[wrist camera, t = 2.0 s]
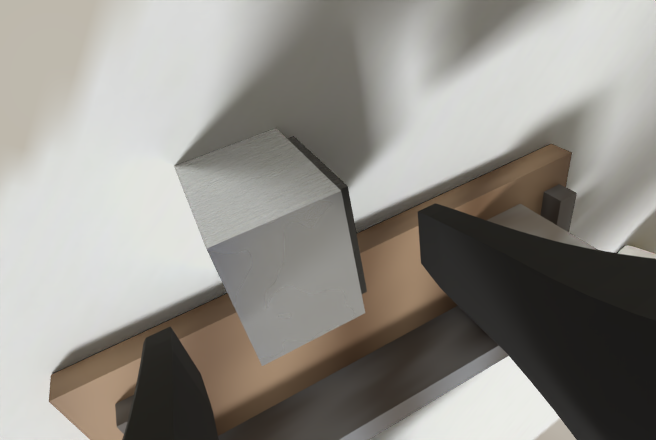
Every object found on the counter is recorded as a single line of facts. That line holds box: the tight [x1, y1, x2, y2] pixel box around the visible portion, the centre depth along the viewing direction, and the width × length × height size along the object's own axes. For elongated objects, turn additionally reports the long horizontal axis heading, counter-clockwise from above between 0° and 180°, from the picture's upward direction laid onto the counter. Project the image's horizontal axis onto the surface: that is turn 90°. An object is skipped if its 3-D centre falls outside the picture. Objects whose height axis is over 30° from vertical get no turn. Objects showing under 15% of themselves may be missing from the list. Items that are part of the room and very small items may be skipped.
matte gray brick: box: [174, 128, 367, 366], centre depth 14 cm, size 5×4×5 cm
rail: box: [49, 144, 597, 440], centre depth 19 cm, size 24×8×6 cm, turn 102°
